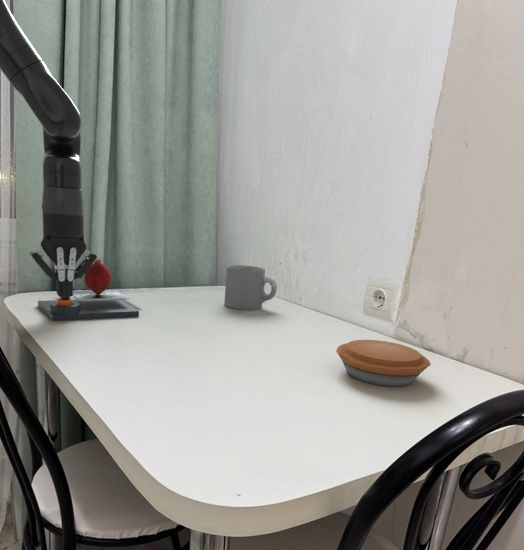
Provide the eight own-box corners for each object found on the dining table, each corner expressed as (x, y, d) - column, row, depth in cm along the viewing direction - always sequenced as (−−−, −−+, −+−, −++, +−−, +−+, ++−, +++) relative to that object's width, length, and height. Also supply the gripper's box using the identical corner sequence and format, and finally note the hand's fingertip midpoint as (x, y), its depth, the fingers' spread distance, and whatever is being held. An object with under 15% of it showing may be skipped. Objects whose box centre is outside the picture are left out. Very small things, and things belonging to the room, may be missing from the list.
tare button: (59, 308, 102) (59, 300, 102) (56, 305, 104) (55, 297, 104) (73, 307, 104) (73, 300, 103) (70, 304, 106) (70, 297, 106)
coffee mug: (217, 305, 131) (219, 266, 129) (235, 300, 140) (238, 264, 137) (263, 313, 126) (266, 273, 123) (279, 308, 135) (283, 270, 132)
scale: (53, 322, 101) (52, 307, 100) (37, 306, 112) (37, 293, 111) (139, 317, 111) (139, 304, 110) (117, 304, 122) (117, 291, 121)
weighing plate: (78, 300, 108) (78, 299, 108) (68, 292, 115) (68, 291, 115) (129, 299, 114) (129, 297, 114) (115, 291, 121) (115, 290, 121)
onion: (111, 297, 112) (111, 261, 110) (83, 296, 111) (83, 259, 109) (111, 292, 118) (111, 257, 115) (85, 291, 116) (85, 256, 114)
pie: (360, 355, 97) (364, 330, 95) (439, 378, 88) (445, 350, 86) (316, 371, 85) (320, 343, 84) (403, 399, 76) (408, 368, 75)
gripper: (30, 210, 92) (34, 303, 97) (103, 215, 100) (103, 301, 105) (22, 208, 98) (26, 296, 103) (91, 212, 106) (92, 294, 110)
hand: (65, 298), depth 104 cm, fingers closed
